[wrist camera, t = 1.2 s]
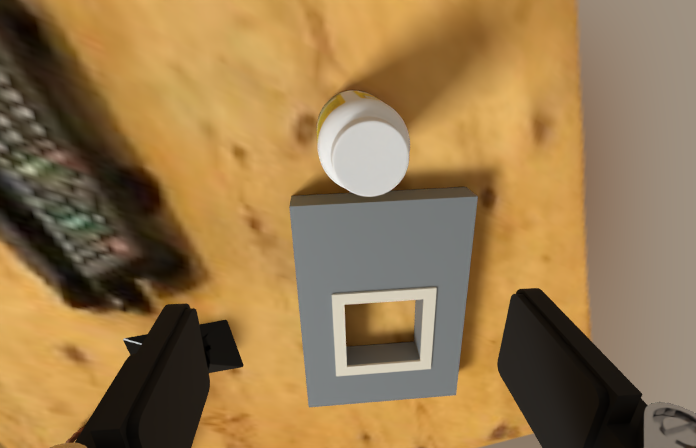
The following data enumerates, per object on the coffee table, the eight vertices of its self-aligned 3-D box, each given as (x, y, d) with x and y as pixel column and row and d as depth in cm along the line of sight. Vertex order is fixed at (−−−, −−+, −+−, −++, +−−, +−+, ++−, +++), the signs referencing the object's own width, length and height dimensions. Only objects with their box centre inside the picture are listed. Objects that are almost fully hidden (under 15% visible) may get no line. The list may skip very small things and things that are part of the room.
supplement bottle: (324, 170, 29) (327, 218, 20) (309, 97, 27) (306, 114, 18) (393, 157, 29) (427, 199, 20) (384, 83, 27) (417, 94, 18)
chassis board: (291, 195, 30) (289, 207, 28) (466, 186, 31) (478, 197, 28) (309, 387, 38) (308, 409, 35) (447, 376, 39) (456, 396, 36)
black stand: (241, 306, 34) (231, 340, 30) (262, 367, 37) (255, 406, 33) (105, 330, 34) (75, 368, 30) (136, 390, 37) (113, 432, 33)
